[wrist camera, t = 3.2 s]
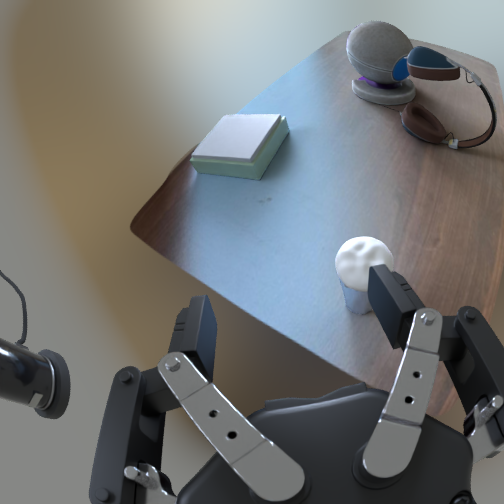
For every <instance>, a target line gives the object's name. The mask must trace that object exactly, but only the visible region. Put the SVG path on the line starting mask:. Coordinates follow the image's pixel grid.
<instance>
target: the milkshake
mask: <svg viewBox="0 0 504 504" xmlns="http://www.w3.org/2000/svg"><path fill="white" fill-rule="evenodd" d="M380 264H385V265H386V266H387V267H388V269H389V270H390V271H391V272H393V268H394V259H393V256H392V254H391V252H390V251H389V249H388V248H387V246H386V245H385V244H384V243H383V242H381V241H379V240H377V239H374V238H371V237H357V238H352V239H350V240H348V241H347V242H345V243H344V244H343V246H342V247H341V248H340V250H339V251H338V253H337V256H336V260H335V265H336V271H337V274H338V277H339V280H340V283H341V286H342V290H343V294H344V298H345V303H346V306H347V307H348V308H349V309H350V310H351V311H352V313H355V314H361V315H363V314H365V313H367V312H369V311H371V310H372V309H373V308H372V306H371V305H370V303H369V300H368V294H367V290H368V277H369V268H370V266H375V265H380Z"/></svg>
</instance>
